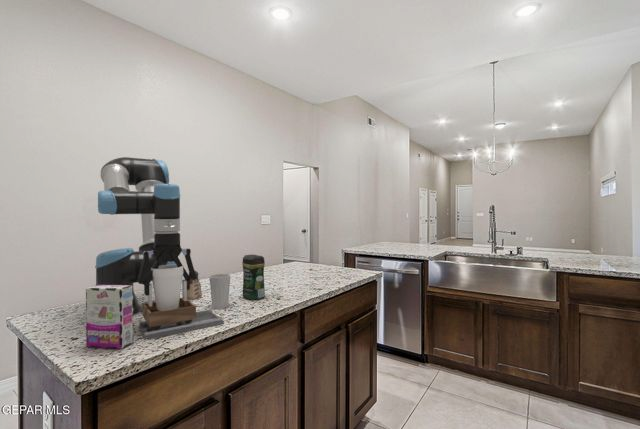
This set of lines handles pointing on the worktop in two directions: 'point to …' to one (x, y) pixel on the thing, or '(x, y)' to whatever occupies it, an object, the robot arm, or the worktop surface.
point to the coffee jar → (253, 277)
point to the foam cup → (167, 286)
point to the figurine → (194, 288)
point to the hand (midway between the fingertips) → (167, 302)
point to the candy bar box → (109, 316)
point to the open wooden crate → (169, 314)
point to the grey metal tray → (182, 325)
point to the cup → (220, 290)
